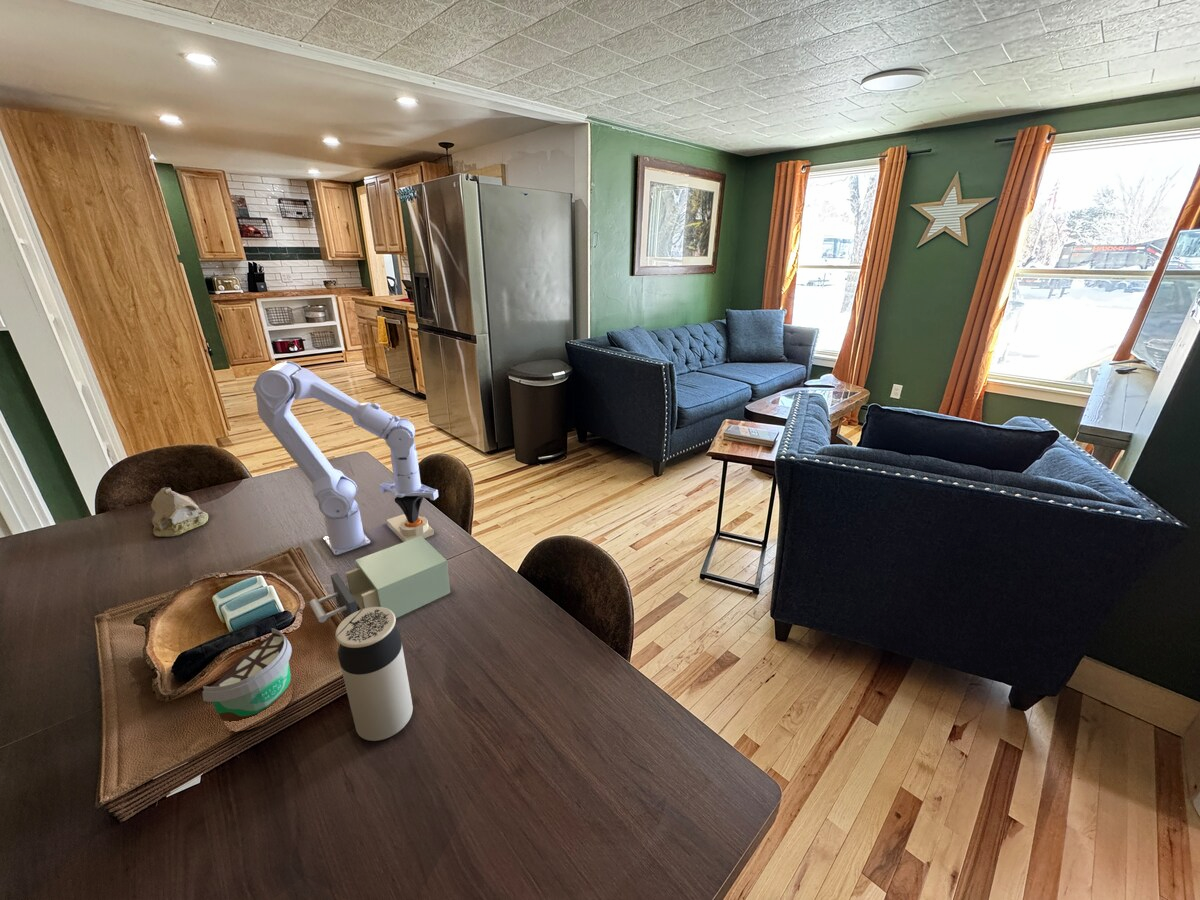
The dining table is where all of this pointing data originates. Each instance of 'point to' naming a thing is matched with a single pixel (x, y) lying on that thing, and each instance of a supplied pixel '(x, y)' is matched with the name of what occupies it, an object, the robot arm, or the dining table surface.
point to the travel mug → (374, 672)
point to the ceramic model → (175, 513)
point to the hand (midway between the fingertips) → (413, 520)
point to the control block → (409, 528)
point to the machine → (406, 575)
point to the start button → (416, 523)
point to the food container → (253, 680)
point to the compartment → (348, 595)
